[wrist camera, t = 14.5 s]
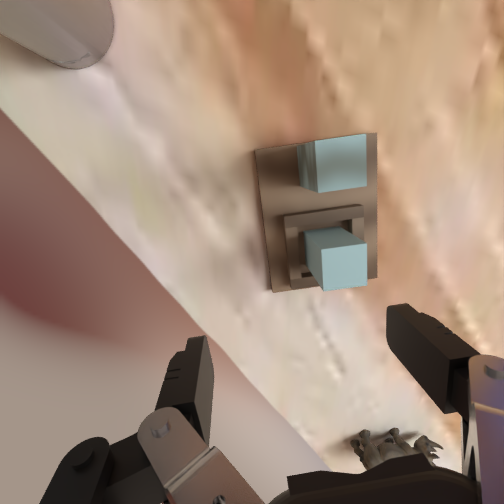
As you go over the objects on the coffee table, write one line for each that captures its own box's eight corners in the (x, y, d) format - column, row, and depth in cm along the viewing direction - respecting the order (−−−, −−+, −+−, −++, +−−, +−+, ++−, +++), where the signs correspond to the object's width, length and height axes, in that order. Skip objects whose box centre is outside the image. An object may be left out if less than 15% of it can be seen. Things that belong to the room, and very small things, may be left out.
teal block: (303, 230, 35) (321, 249, 28) (339, 226, 35) (366, 243, 28) (305, 264, 37) (323, 291, 29) (340, 259, 37) (367, 285, 29)
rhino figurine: (428, 441, 48) (454, 478, 43) (349, 448, 48) (364, 486, 42) (432, 422, 47) (459, 458, 41) (350, 429, 47) (366, 466, 41)
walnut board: (254, 150, 33) (260, 145, 24) (373, 133, 33) (420, 122, 25) (272, 289, 38) (281, 325, 30) (373, 275, 39) (412, 306, 30)
